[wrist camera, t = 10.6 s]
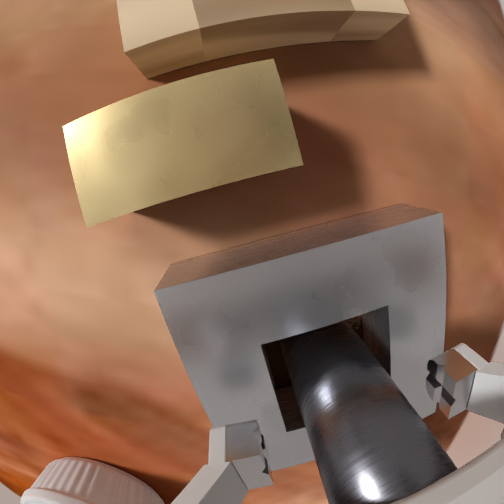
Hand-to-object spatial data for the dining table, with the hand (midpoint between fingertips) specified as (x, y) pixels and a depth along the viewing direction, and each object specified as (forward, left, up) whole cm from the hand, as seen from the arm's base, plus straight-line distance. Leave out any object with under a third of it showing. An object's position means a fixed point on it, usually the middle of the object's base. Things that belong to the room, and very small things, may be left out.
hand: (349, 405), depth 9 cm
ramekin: (+11, -17, -5) cm, 21 cm away
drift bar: (-9, -3, -5) cm, 11 cm away
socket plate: (0, 0, -5) cm, 5 cm away
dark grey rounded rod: (0, 0, -5) cm, 5 cm away
